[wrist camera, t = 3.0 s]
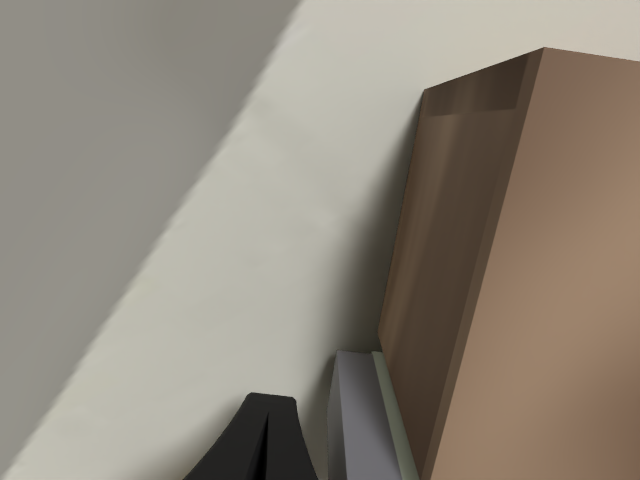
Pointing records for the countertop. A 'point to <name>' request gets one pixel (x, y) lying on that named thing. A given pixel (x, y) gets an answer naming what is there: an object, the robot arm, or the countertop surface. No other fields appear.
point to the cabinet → (521, 274)
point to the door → (366, 422)
